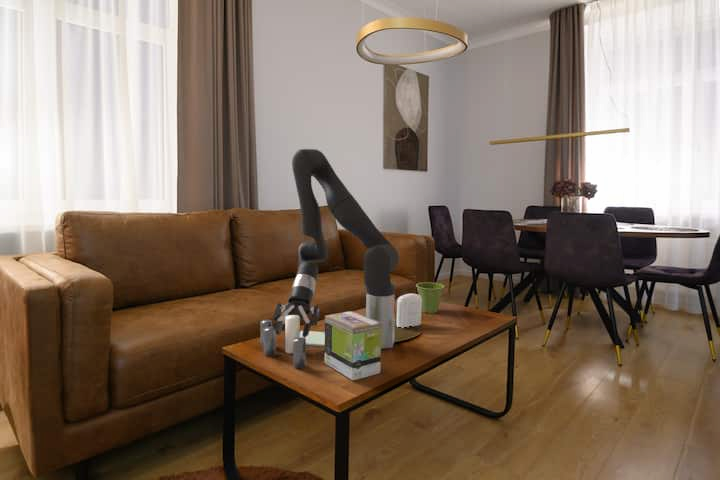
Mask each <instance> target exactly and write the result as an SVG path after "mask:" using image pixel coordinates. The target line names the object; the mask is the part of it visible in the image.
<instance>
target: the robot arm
mask: <svg viewBox="0 0 720 480" xmlns="http://www.w3.org/2000/svg"><path fill="white" fill-rule="evenodd" d="M291 168H292V172H293V177H294V181H295V186H296V192H297V195H298V200H299V207H300V221H301V232H302V234H303V235H304V236H306V237H309V238H313V240H314V241H305V242H301V244H300V245H298V250H297V251H298V253H297V254H298V267H297V271H296V274H295V278H294V280H293V283H292V286H291V289H290V294H289V296H288V297H289V298H288V300H287V303H286V305H285V304H282V303H281V302H278V303H277V305H276V307H275V310H274V313H273V316H272V319H273V322H274V323H276V326H275V334H276V335H277V336H281V334H282V331H283V327H284V324H285V317H286V316H288V315H298V316H300V321H301V320H302V319H303V321H304V322H305V323H304V325H303V330H302V331H303V334H302V335H303V337H306V336H308V334H309V331H311V327H313V326H314V327H315V326H317V325H318V320H319V315H320V308H319V307H318V305H314V306H312V302H313V299H314V298H313V297H314V294H315V289H316V282H317V279H318V278H317V277H318V274H319V267H318V265H316V264H315V263H316V262H317V263H322V262H325V261H326V260H327V258H328V255H329V250H328V249H329V248H328V245H327V243H326V240H325V236H324V233H323V227H322V225H323V224H322V212H321V209H320V208H321V207H320V205H319V202H318V201H317V198H316V197H315V194H314V191H313V186H312V177H313V178H314V179H315V180H316V181H317V183H318V184H319V185H320V186H321V188H322V189H323V191H324V194H325V201H326V205H327V208H328V210H329V211H330V213H331V215H332V216H333V217H334V219H335V220H336V221H337V223H338V224H339V225H340V226H341V227H343V229H345V230H346V231H347V232H349V233H350V234H351V235H353V236H354V237H356V238H357V239H358V240H359V241H360V243H362V244H363V246H364V247H365V248H366V249H367V250H366V251H365V254H364V256H363V257H364V258H363V283H364V286H365V290H366V291H365V293H366V294H365V296H366V297H365V298H366V299H365V300H366V301H365V303H366V304H365V305H366V306H365V312H366V313H365V316H366V317H368V318H371V319H373V320H376V321H379V322H381V350H383V349H393V347H394V344H395V326H396V323H395V321H396V315H395V294H396V293H395V292H396V289H395V284H393V283H392V281H391V271H392V270H394V269H395V268H396V267H397V266H398V264H399V261H400V260H399V253H398V251H397V249H396V248H395V247H394V245H393V244H392V243H391V242H390V241H389V240H388V239H387V238H386V237H385V236H384V235H383V234H382V233H381V231H379V229H378V228H377V227H376V225H375V224H374V222H373V221H372V220H371V219H370V218H369V216H368V215H367V213H366V212H365V210H364V209H363V207H362V206H361V205H360V203H359V202H358V201H357V200H356V198H355V197H354V196H353V194H351V192H350V191H349V190H348V188H347V187H346V185H344V183H343V182H342V180H341V179H340V178H339V177H338V175H337V174H336V172H335V170H334V168H333V166H332V165H331V164H330V162H329V160H328V159H327V157H326V155H325V154H324V153H322V151H320V150H318V149H315V148H301V149H298V150H295V152H294V153H293V156H292V158H291ZM284 310H285V311H284ZM309 313H312V317H311V318H312V319H311V320H310V319H309V317H308V315H309Z"/></svg>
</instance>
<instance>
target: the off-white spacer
mask: <svg viewBox="0 0 720 480" xmlns="http://www.w3.org/2000/svg"><path fill="white" fill-rule="evenodd" d="M300 323H301V320H300V316H298V315H287V316H286V317H285V323H284V326H285V327H284V329H285V330H284V332H285V333H284V334H285V339H284V341H285V343H284V344H285V349H284V351H285V353H286V354H292V355H293V339H294V338H297V337H300V332H301V330H300V329H301V328H300V327H301V324H300Z"/></svg>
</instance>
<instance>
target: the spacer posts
mask: <svg viewBox="0 0 720 480" xmlns="http://www.w3.org/2000/svg"><path fill="white" fill-rule="evenodd" d="M275 329H276V327H274V326H273V321H272V319H262V320H260V346H261V347H262V346H263V347H262V348H263V355H264V356H265V355H266V356H265V357H273V356H275V355H276V354H277V353H276V346H277V343H276V340H277V339H276V331H275ZM306 347H307V345H306V339H305V338H303V337H297V338H294V339H293V354H292V359H293V360H292V364H293V366H292V367H293V368H294V369H298V370H299V369H305V368H306V366H307V365H306V364H307V361H306V360H307V357H306V355H307V352H306V351H307V348H306Z"/></svg>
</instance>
